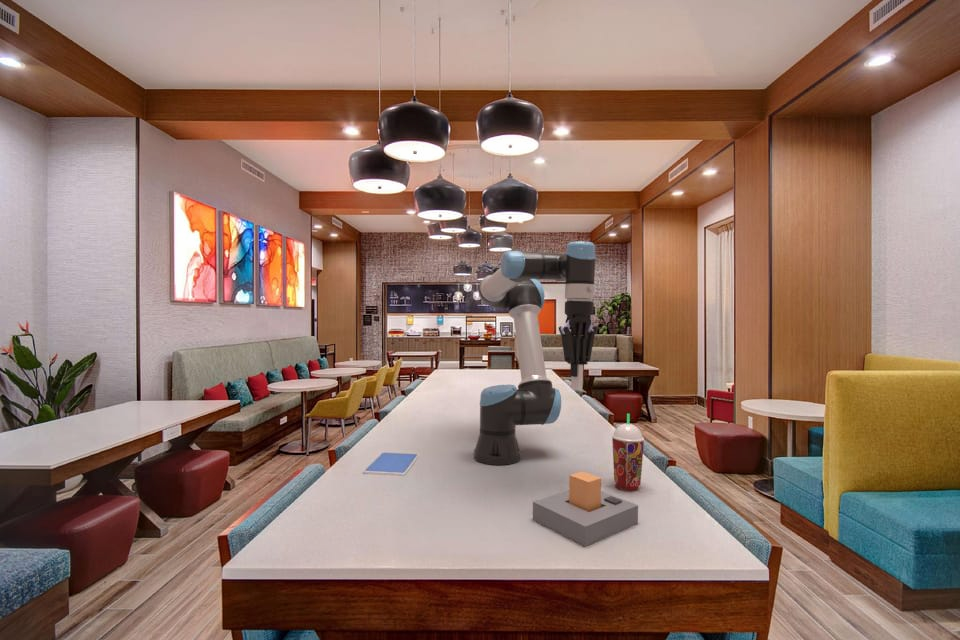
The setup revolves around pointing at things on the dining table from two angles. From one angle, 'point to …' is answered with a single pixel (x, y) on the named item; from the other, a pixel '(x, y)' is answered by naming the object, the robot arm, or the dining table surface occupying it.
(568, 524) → the socket box
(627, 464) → the smoothie
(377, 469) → the tablet computer
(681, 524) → the dining table surface
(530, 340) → the robot arm
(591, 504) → the plug
